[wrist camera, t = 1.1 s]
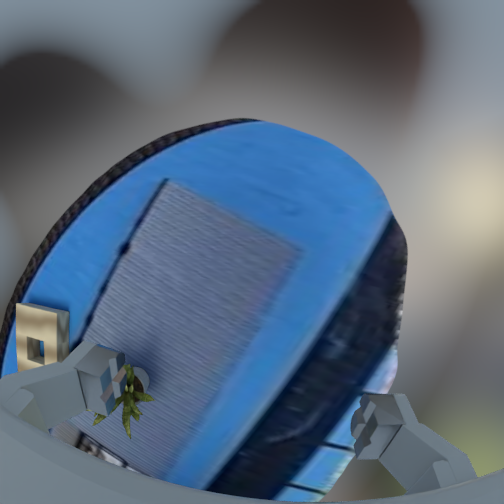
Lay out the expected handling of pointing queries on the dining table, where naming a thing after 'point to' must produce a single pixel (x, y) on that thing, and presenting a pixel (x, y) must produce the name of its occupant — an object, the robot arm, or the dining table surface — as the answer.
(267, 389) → the dining table surface
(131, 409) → the house plant
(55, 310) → the seat block
